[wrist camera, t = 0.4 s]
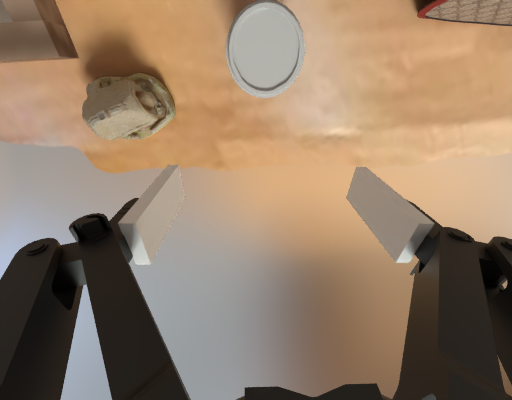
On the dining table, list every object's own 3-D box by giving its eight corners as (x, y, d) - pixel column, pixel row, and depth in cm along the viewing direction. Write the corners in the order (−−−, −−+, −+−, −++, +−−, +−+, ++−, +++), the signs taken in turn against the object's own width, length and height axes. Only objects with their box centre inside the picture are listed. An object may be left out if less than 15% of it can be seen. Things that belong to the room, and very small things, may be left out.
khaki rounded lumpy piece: (123, 147, 41) (90, 166, 32) (80, 87, 35) (26, 91, 26) (185, 122, 38) (167, 136, 30) (150, 54, 33) (116, 47, 24)
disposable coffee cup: (301, 55, 33) (324, 47, 23) (263, 103, 37) (268, 115, 27) (258, 3, 30) (262, -33, 20) (220, 62, 33) (208, 58, 23)
